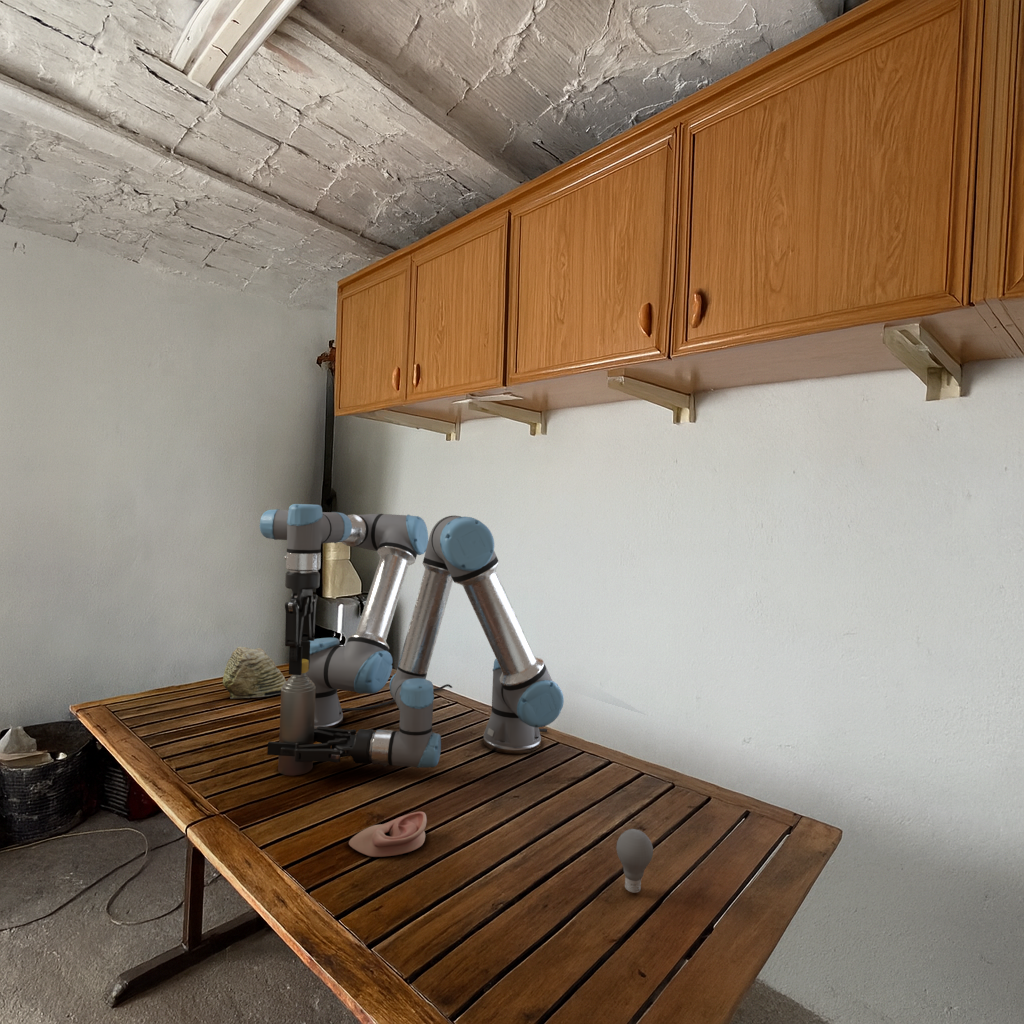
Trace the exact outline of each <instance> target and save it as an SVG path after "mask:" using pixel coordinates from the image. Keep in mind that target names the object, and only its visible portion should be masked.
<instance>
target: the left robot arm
mask: <svg viewBox="0 0 1024 1024" xmlns="http://www.w3.org/2000/svg"><path fill="white" fill-rule="evenodd" d="M259 530H260V533H261V536H263V537H264V538H266V539H271V540H274V541H275V540H276V541H286V555H285V556H284V560H285V569H286V570H288V571H286V572H285V578H284V579H285V580H284V581H285V582H284V586H285V588H286V589H288V590H291V594H290V599H289V601H286V602H285V603H284V609H285V629H284V630H285V631H284V633H285V634H284V635H285V637H284V641H285V642H284V646H285V647H289V651H288V653H289V655H288V656H289V657H288V675H290V676H292V675H301V674H302V659H307V660H309V671H308V672H306V674H305V675H307V677H309V678H310V680H312V682H313V683H314V684H315V686H316V692H315V718H314V729H317V727H319V726H320V727H329V728H337V727H339V726H340V725H342V723H343V722H344V714H343V712H346V711H349V712H350V711H364V710H365V711H366V710H370V709H375V708H379V707H382V706H386V705H389V704H392V703H394V702H395V700H394V699H393V698H392V699H391V700H388V701H385V702H381V703H378V704H374V705H369V706H363V707H343V708H342V706H341V702H340V699H339V695H338V691H346V692H351V693H357V694H359V695H362V694H368V695H373V694H376V693H379V692H380V691H381V690H382V689H383V688H384V687H385V685H386V684H387V683H388V681H389V679H390V676H391V675H392V670H393V665H392V664H393V656H392V654H391V653H390V652H389V650H390V646H389V644H388V643H387V638H388V635H389V633H390V630H391V629H390V628H391V625H392V621H393V618H394V616H395V612H396V609H397V605H398V602H399V599H400V596H401V592H402V589H403V585H404V582H405V579H406V575H407V572H408V569H409V566H412V565H414V564H415V563H416V561H417V557H418V556H421V555H425V552H426V548H427V544H428V540H429V532H428V526H427V524H426V522H425V520H424V519H423V517H421V516H419V515H410V514H407V515H406V514H391V513H366V514H353V513H352V514H345V513H343V512H338V511H331V512H330V511H329V512H328V511H327V512H325V511H323V507H322V505H320V504H310V503H293V504H291V505H289V507H288V509H278V508H277V509H268V510H266V511H264V512H263V513H262V515H261V516H260V520H259ZM331 543H332V544H333V543H334V544H338V543H341V544H343V545H344V546H346V547H352V548H353V547H354V548H355V547H356V548H358V549H363V550H368V551H372V552H376V553H377V555H378V556H379V561H378V564H377V567H376V570H375V573H374V576H373V579H372V582H371V584H370V589H369V591H368V594H367V597H366V601H365V603H364V607H363V610H362V613H361V616H360V618H359V622H358V625H357V629H356V631H355V633H353V634H352V635H350V636H348V638H347V641H346V644H345V645H340V644H341V643H340V642H341V641H340V639H339V638H337V637H321V638H319V637H318V638H316V637H315V633H316V630H315V629H316V615H317V614H316V612H317V602H318V595H317V594H314V592H313V590H315V589H318V588H319V587H320V580H321V573H320V572H319V571H320V569H321V561H322V560H321V559H322V558H321V557H322V555H321V554H322V553H321V551H322V550H321V547H322V544H331ZM447 687H448V688H450V689H453V686H452V685H451V684H450V683H449V684H444V685H442V686H440V687H436V688H433V692H436V691H440V690H442V689H445V688H447Z"/></svg>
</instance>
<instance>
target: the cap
mask: <svg viewBox="0 0 1024 1024" xmlns="http://www.w3.org/2000/svg"><path fill="white" fill-rule="evenodd" d="M308 671H309V660H307V659H302V673H306V672H308Z"/></svg>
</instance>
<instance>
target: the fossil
mask: <svg viewBox="0 0 1024 1024" xmlns="http://www.w3.org/2000/svg"><path fill="white" fill-rule="evenodd" d="M222 676H223V677H222V685H223V687H224V688H225V690H226V691H228V693H229V698H230V699H250V698H264V697H271V696H275V695H281V688H282V687H283V684H285V682H286V681H287V680H286V678H285V676H284V674H283V673H282V672H281V669H279V668H278V667H277V665H276V663H275V662H274V660H273V659H272V658H271V657H270V656H269V655H268V654H267V653H266V652H265V650H264V649H263V648H260V647H258V648H251V647H247V646H246V647H245V646H238V647H237V648H236V649H235V650H233V651H232V653H231V656H230V657H229V659H228V660H227V663H226V666H225V668H224V671H223V675H222Z"/></svg>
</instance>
